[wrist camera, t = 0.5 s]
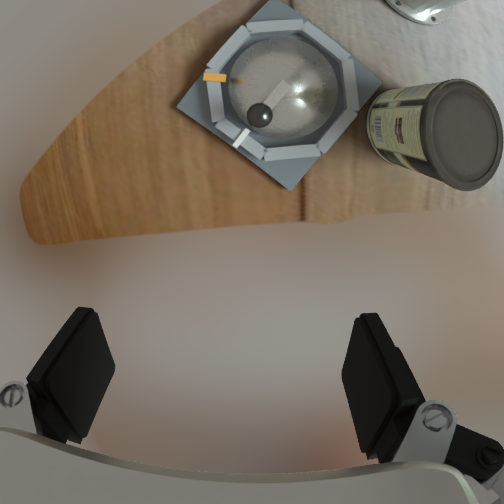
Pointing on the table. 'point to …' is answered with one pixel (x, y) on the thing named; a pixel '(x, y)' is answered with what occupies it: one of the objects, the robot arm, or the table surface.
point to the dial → (283, 88)
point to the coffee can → (439, 132)
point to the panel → (260, 146)
